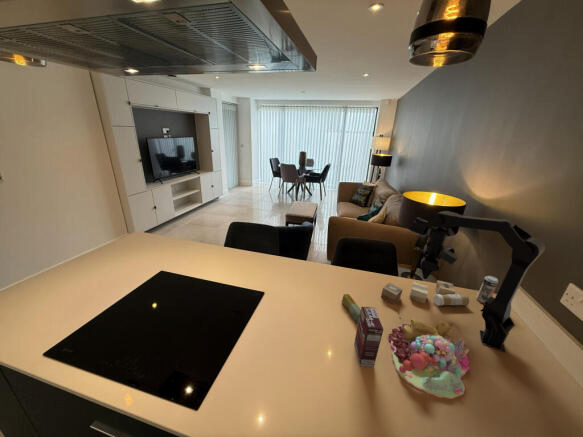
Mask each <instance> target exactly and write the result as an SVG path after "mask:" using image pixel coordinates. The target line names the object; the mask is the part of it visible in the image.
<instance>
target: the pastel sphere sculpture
mask: <svg viewBox="0 0 583 437" xmlns="http://www.w3.org/2000/svg"><path fill="white" fill-rule="evenodd" d="M391 330H392V332H393V333H388V341H389V342H390V347H391V348H392V349H393V352H392V353H391V357H392V360H391V361H392V362H393V364H394V369H395V371H396V372H397V373H398V375H399V377H400V378H402V379H403V380H405V382H406V383H407V384H409V385H412V387H414V388H416V389H418V390H420V391H423V392H425V393H427V394H429V395H432V396H435V397H438V398H440V399H441V398H444V399H449V400H453V399H456V398H458V397H461V396H463V395H464V394H465V390H466V389H465V384H464V383H463V380H462V378H463V376H465V374H466V373H467V372H468V371H470V369H471V368H470V367H469V364H470V361H469V360H468V358H469V357H468V355H467V354H468V353H469V351H470V349H465V343H466V341H465V340H463V341H462V343H460V341H461V337H459V338H458V339H457V340H456V341H454V344H453V342H451V341H452V340H451V339H452V337H451V336H450V337H449V336H448V335H449V334H450V332H451V331H452V330H453V326H452V325H450V324H449V323H447V322H445V321H441V322H440V323H438V322H437V323H436V324H435V325H434V326H431V325H430V324H428V323H425V322H423V321H422V320H419V319H415V318H412V319H411V318H410V323H409V324H408V323H403V324H402V325H401V324H400V325H397V328H396V327H395V328H391ZM464 349H465V350H464Z"/></svg>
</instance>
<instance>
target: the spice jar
mask: <svg viewBox="0 0 583 437" xmlns="http://www.w3.org/2000/svg"><path fill="white" fill-rule="evenodd" d="M498 284H499V280H498V278H497V277H496V276H492V275H486V276H485V277H484V278H483V281H482V284H481V286H480V289H479V290H478V293H477V295H476V297H475V298H476V299H477V301H479V302H480V303H483V304H484V303H485V301H487V300H488V299H489V298H490V297H491V296H492V297H493V295H494V293H495V291H496V289H497V286H498Z"/></svg>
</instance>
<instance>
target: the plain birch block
mask: <svg viewBox="0 0 583 437" xmlns="http://www.w3.org/2000/svg"><path fill="white" fill-rule="evenodd" d="M428 291H429V286H427V285H423V284H420V283H417V282H414V281H413V282H412V285H411V289H410V293H409V296H408V297H409V299H412V300H414V301H417V302H420V303H422V304H425V302H426V300H427V297H428Z"/></svg>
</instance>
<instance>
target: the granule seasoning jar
mask: <svg viewBox="0 0 583 437" xmlns="http://www.w3.org/2000/svg"><path fill="white" fill-rule="evenodd" d="M432 299H433V303H434V304H435V305H436V306H440V307H441V306H468V305H469V304H470V299H469V297H468V295H467V294H458V293H457V294H456V293H455V294H447V295H440V294H436V293H435V294H434V295H433V297H432Z"/></svg>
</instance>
